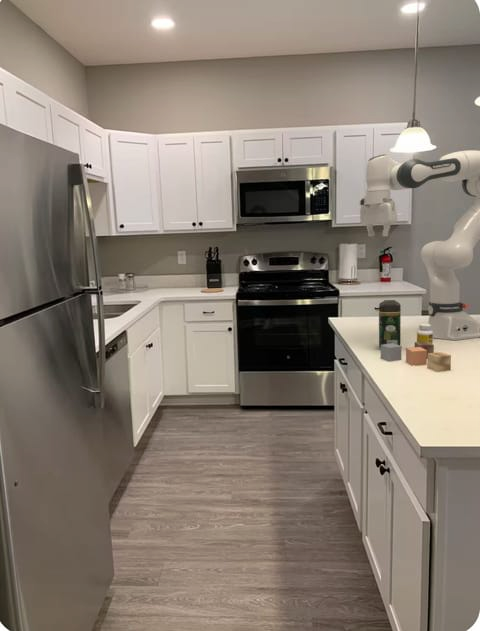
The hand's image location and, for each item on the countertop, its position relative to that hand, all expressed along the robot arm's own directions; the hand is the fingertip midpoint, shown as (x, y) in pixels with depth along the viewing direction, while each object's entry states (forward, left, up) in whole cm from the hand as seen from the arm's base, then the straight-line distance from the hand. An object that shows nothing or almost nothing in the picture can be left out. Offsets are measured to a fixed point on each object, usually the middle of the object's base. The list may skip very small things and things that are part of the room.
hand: (378, 236), depth 186 cm
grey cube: (+4, +23, -42) cm, 48 cm away
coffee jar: (-1, +9, -43) cm, 44 cm away
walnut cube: (-8, +23, -42) cm, 49 cm away
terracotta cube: (-2, +30, -42) cm, 52 cm away
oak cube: (-6, +38, -42) cm, 57 cm away
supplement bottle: (-12, +15, -43) cm, 47 cm away
